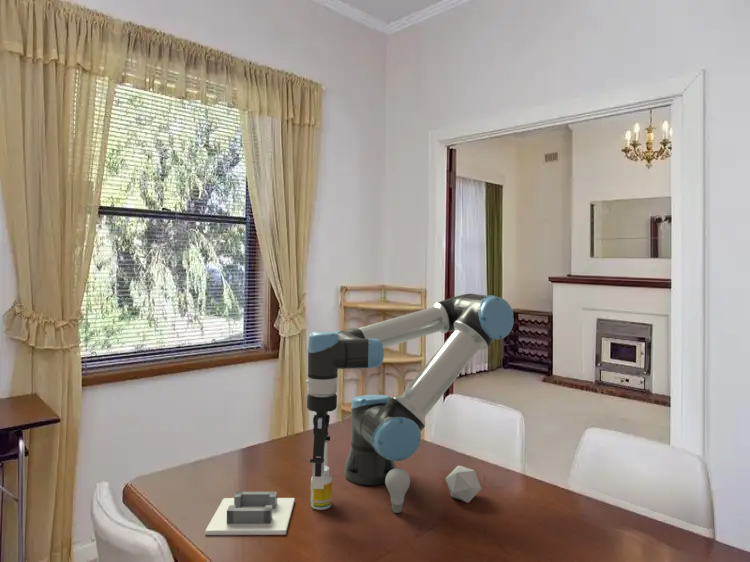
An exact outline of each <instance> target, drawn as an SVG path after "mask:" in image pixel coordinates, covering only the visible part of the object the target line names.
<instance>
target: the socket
mask: <svg viewBox="0 0 750 562" xmlns="http://www.w3.org/2000/svg"><path fill="white" fill-rule="evenodd" d="M294 504H295V497H278V491H236V493H235V494H234V496H233V497H224V498H222V500H221V503H220V504H219V506H218V507H217V509H216V510H215V513H214V514H213V516H212V518H211V520H210V521H209V523H208V525H207V526H206V529H205V530H204V532H205V533H204V536H232V535H233V536H238V535H239V536H240V535H241V536H242V535H243V536H244V535H247V536H250V535H253V536H257V535H260V536H265V535H266V536H268V535H269V536H270V535H272V536H273V535H277V536H278V535H281V536H282V535H287V531H288V528H289V524H290V522H291V521H290V520H291V516H292V513H293V508H294V506H295V505H294Z"/></svg>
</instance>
